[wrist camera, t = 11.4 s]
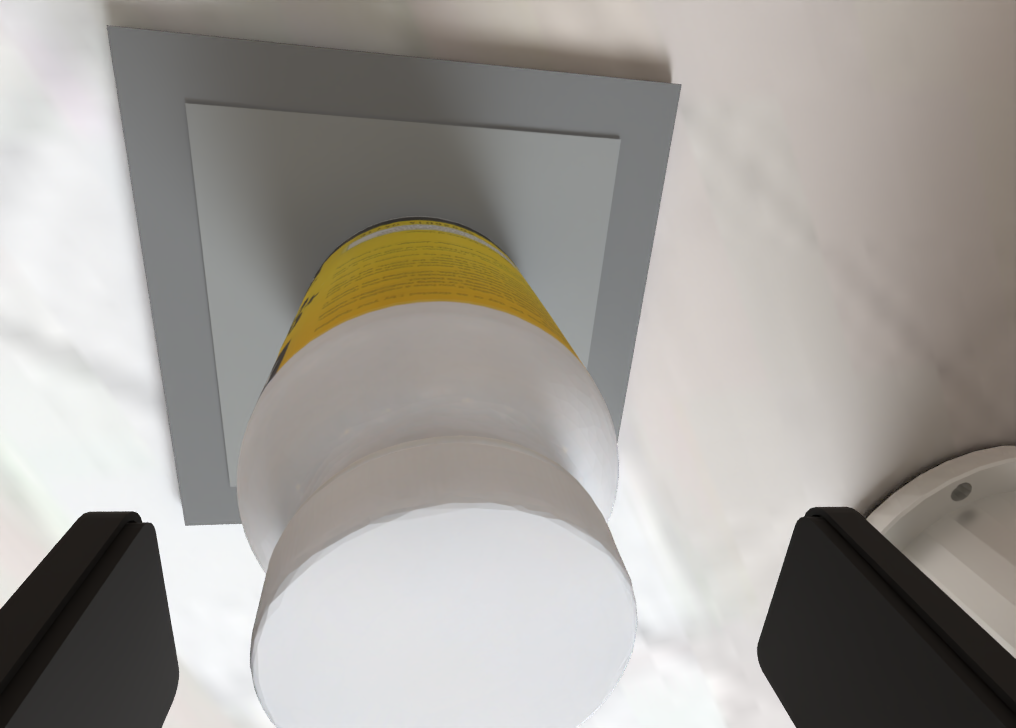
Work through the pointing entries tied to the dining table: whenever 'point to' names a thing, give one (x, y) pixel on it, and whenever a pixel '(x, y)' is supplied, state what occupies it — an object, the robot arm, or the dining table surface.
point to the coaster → (367, 203)
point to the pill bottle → (432, 499)
